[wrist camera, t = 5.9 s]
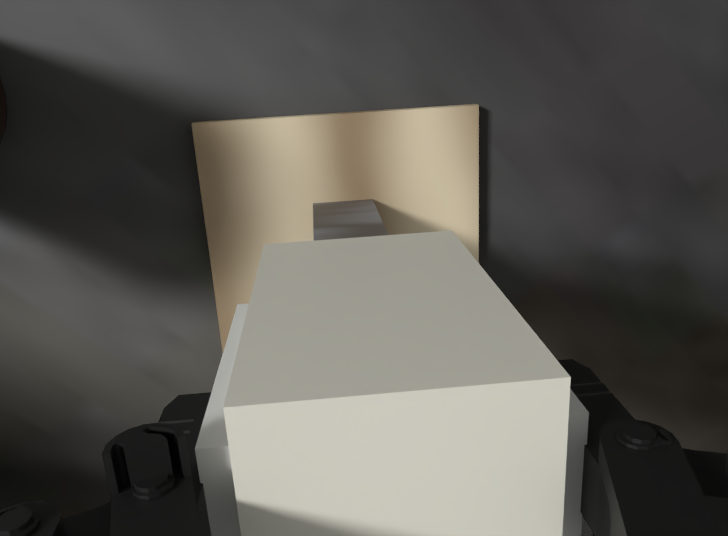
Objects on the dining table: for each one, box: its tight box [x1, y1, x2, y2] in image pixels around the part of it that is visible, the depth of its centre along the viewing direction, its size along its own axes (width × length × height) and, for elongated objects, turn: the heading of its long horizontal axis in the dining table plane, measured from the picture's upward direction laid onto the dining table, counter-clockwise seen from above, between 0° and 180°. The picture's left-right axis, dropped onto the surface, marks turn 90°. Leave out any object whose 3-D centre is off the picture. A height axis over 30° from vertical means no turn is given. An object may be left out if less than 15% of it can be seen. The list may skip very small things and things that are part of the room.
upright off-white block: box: [223, 231, 571, 536], centre depth 14 cm, size 5×5×9 cm
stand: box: [191, 104, 479, 352], centre depth 26 cm, size 12×20×10 cm, turn 3°
